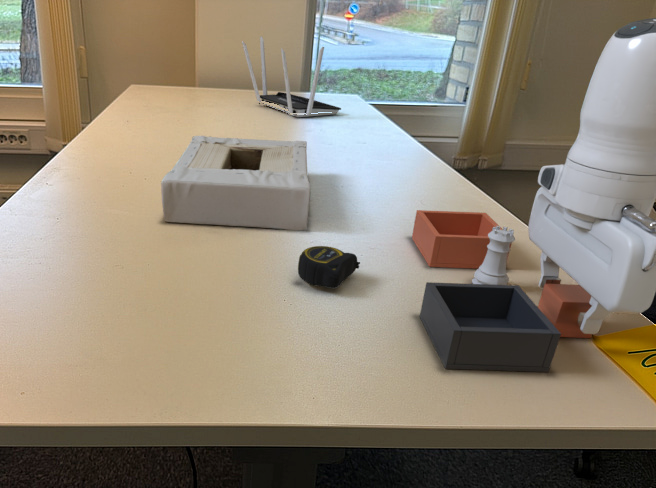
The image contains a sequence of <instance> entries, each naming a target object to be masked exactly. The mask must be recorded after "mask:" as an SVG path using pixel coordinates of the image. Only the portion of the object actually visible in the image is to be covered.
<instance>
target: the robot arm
mask: <svg viewBox="0 0 656 488" xmlns="http://www.w3.org/2000/svg"><path fill="white" fill-rule="evenodd" d="M537 184H538V185H539V186H540V187H539V188H538V190H537V191H536V194H535V196H534V199H533V200H534V201H533V204H532V208H531V211H530V216H529V221H528V225H527V227H528V228H527V232H528V239H529V241H531V242H532V243H533V245H535V246H536V247H537V248H538V249H539V250H540V251H541V254H540V256H539V257H540V258H539V259H540V278H539V281H538V283H537V284H538V287H539V288H540V290H541V291H543V288H544V285H545V284H562V283H561V282H562V279H561V278H560V277H559V276H560V269H561V270H563V272H564V273H566V274H567V275H568V276H569V277H570V278H571V279H572V280H573V281H575V282H576V284H577V285H580V286H581V287H582V288H583V289H584V290H585V291H587V292H588V293H589V294H590V295H591V299H590V302H589V303H590V305H592V307H591V308H590V309H589V310H588V311H587V312H586V313H583V312H580V313H579V316H578V321H577V322H576V325H577V327H578V328H579V329H580V330H581V331H582V332H583V333H584V334H592V335H596V334H598V333H599V332H600V330H601V327H602V324H603V321H605V320H606V319H607V318H609V317H610V316H611V315H612V314H626V315H627V314H628V315H638V314H642V313H644V312H646V311H647V310H648V309H649V308H651V306H652V304H653V301H654V298H655V296H656V219H655V218H653V217H650V214H651V212H652V209H653V207H654V204H655V201H656V17H652V18H651V17H650V18H645V19H639V20H635V21H631V22H629V23H627V24H624V25H623V26H622V27H619V28H618V29H617V30H616V31H615V32H614V33H613V34H612V35H611V37H610V38H609V39H608V40H607V43H606V44H605V45H604V48H603V50H602V51H601V53H600V56H599V58H598V60H597V62H596V64H595V68H594V70H593V73H592V75H591V78H590V81H589V83H588V86H587V89H586V92H585V96H584V100H583V102H582V105H581V109H580V113H579V130H578V134H577V137H576V139H575V140H574V143H572V145H571V147H570V148H569V150H568V152H567V155H566V159H565V163H564V164H563V163H560V164H552V165H551V164H550V165H543V166H542V167H541V168H540V170H539V173H538V177H537Z"/></svg>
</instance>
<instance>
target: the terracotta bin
mask: <svg viewBox="0 0 656 488" xmlns="http://www.w3.org/2000/svg"><path fill="white" fill-rule="evenodd" d="M414 218H415V219H414V224H413V230H412V235H411V239H412V241H413V243H414V244H415V246H416V247H417V249H418V251H419V252H420V254H421V255H422V257H423V259H424V260H425V262H426V264H427V265H428V266H429V268H450V269H451V268H452V269H453V268H455V269H479V267H480V266H481V265H482V264H483V262H484V259H485V257H486V254H487V251H488V248H487V245H488V244H489V243H490V239H489V237H488V234H489V233H490V232H491V231H492V228H493V227H496V226H500V225H499V224H498V223H497V222H496V221H495V220H494V219H493V218H492V217H491V216H490V215H489V214H488V213H486V212H480V211H479V212H478V211H477V212H476V211H475V212H474V211H452V210H451V211H450V210H449V211H448V210H445V211H444V210H423V209H416V211H415V217H414ZM500 230H503V228H502V227H501V226H500ZM512 244H513V242H512V243H511V244H510V245H509V248H510V249H511V248H512ZM509 255H510V251H509V252H508V255H507V260H506V264H508V263H507V262H508V259H509Z"/></svg>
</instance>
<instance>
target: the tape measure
mask: <svg viewBox="0 0 656 488" xmlns="http://www.w3.org/2000/svg"><path fill="white" fill-rule="evenodd" d="M360 264H361V262H360V261H358V257H357V255H356V254H355V253H352V252H345V251H342V250H341V249H338V248H336V247H332V246H327V245H315V246H310V247H307V248H306V249H304V250H303V251H302V252H301V253H300V254H299V258H298V264H297V273H298V276H299V278H300V279H301V280H302V281H303V282H305V283H307V284H309V285H310V286H315V287H322V288H327V289H337V288H339V287H340V286H341V284H342V283H343V282H344V281H346V279H348V278H349V277H351V276H352V275H353V274H354V273H355V272H356V269H358V270H359V269H360Z"/></svg>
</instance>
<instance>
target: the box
mask: <svg viewBox="0 0 656 488" xmlns="http://www.w3.org/2000/svg"><path fill="white" fill-rule="evenodd" d="M307 145H308V144H307V141H306V140H292V141H291V140H273V139H257V138H256V139H255V138H237V137H219V136H218V137H217V136H216V137H215V136H206V135H193V136H192V137H191V141H190V142H189V144H188V145H187V147H186V148H185V150H184V152H183V153H182V154H181V156H180V157H179V158H178V160H177V162H176V163H175V164H174V166H173V167H172V169H171V170H170V171H168V172H167V173H166V174H165V175H164V176H163V177H162V180H161V181H160V186H161V203H162V204H161V205H162V213H163V220H164V222H167V223H179V224H181V223H182V224H199V225H213V226H214V225H215V226H228V227H229V226H230V227H245V228H262V229H277V230H293V231H306V230H307V228H308V222H309V214H310V213H309V212H310V202H311V201H310V200H311V184H310V180H309V178H308V155H307V154H308V153H307V147H308V146H307Z"/></svg>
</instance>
